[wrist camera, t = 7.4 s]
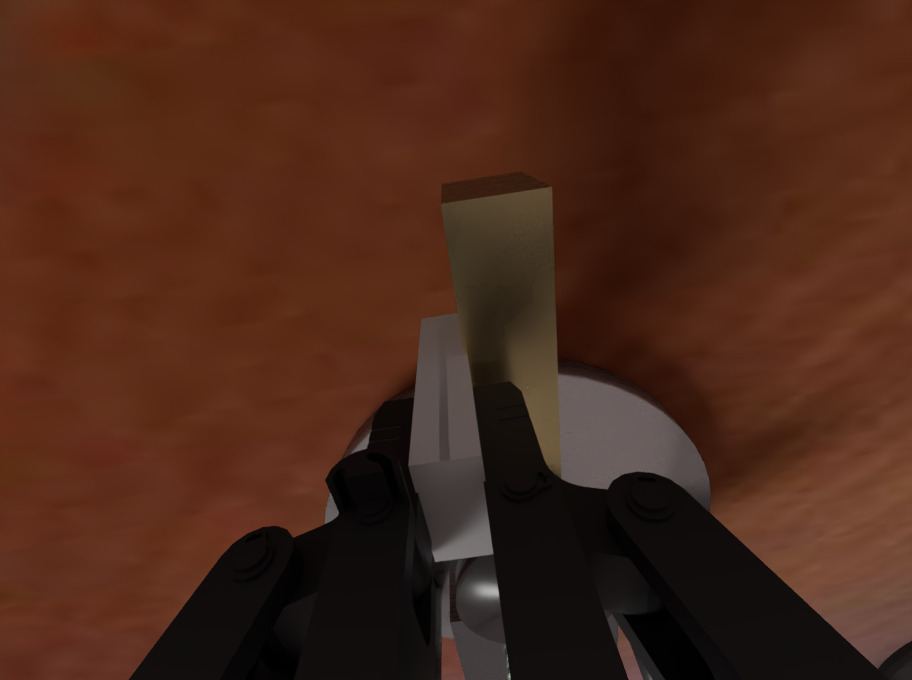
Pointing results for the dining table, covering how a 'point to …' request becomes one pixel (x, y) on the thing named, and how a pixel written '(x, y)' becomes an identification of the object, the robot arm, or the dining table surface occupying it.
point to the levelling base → (573, 482)
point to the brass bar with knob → (504, 329)
